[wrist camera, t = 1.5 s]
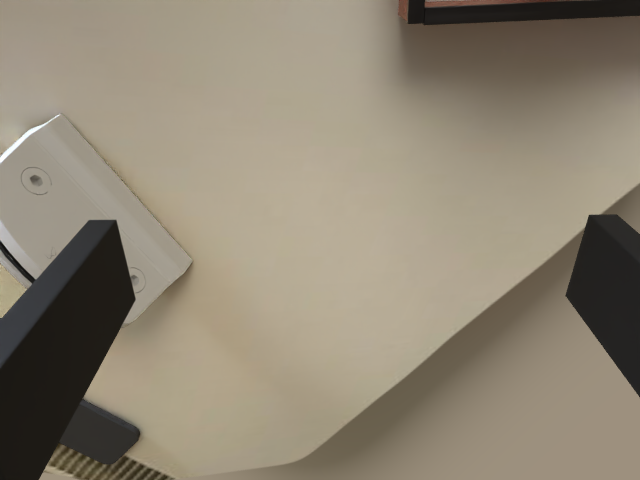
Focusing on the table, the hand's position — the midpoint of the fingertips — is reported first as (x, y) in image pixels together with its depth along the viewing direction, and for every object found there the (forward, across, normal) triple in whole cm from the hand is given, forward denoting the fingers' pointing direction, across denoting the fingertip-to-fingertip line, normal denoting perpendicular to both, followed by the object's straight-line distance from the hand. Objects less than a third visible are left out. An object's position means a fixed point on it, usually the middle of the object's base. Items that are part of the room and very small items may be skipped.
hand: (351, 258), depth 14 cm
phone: (+26, -29, -37) cm, 54 cm away
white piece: (+26, -20, -12) cm, 35 cm away
